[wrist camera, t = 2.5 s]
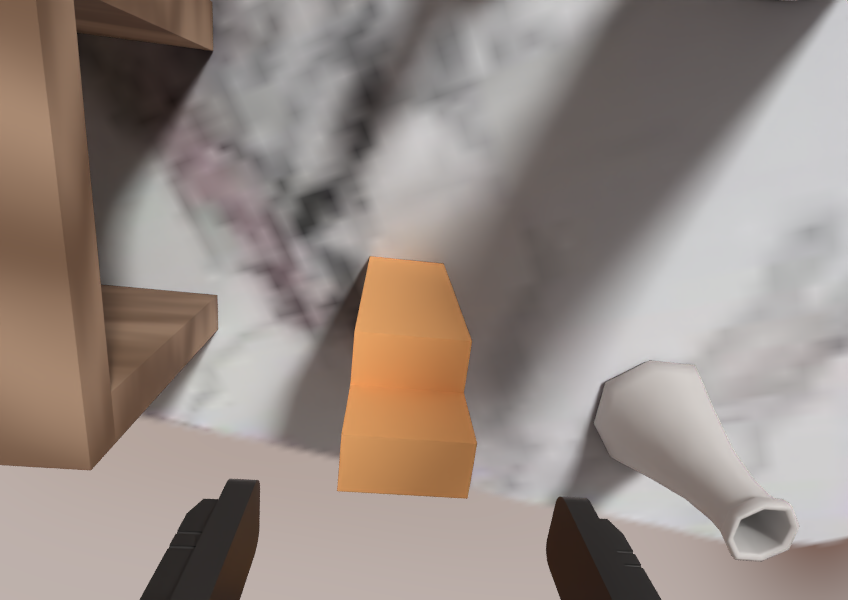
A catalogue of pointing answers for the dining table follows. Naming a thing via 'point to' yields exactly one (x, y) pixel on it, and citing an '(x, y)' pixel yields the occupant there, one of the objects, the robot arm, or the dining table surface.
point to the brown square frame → (76, 245)
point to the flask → (691, 455)
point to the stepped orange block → (408, 386)
